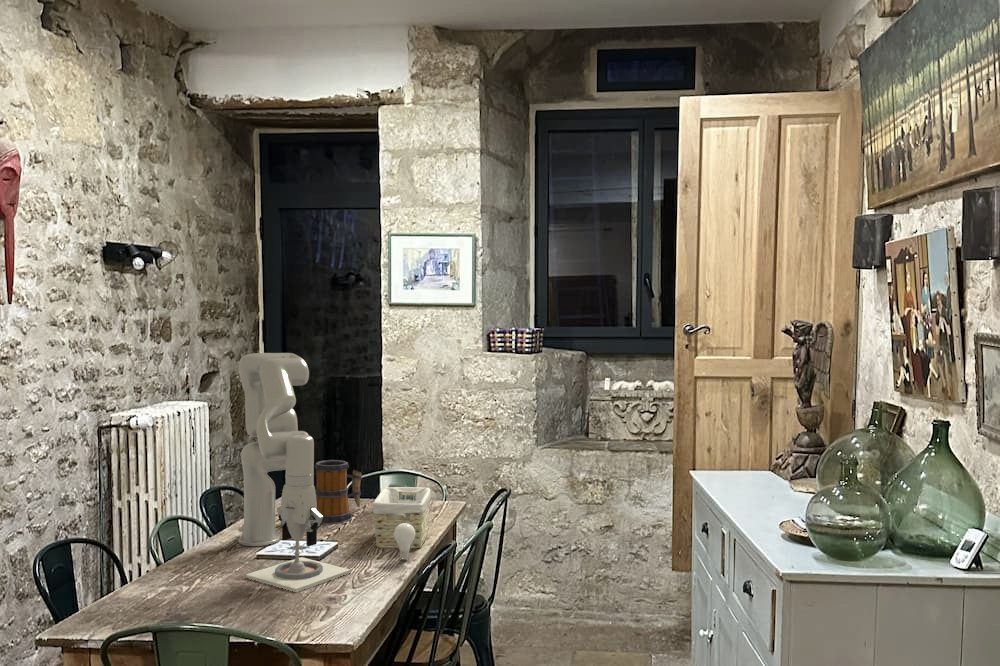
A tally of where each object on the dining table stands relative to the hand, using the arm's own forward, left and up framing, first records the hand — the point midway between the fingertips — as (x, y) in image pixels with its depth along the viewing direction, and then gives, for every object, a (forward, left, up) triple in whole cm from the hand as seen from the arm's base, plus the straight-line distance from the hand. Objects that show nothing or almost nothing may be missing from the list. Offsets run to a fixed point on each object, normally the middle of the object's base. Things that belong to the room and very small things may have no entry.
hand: (299, 542), depth 226 cm
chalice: (-1, 0, -8) cm, 8 cm away
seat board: (0, 0, -9) cm, 9 cm away
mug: (-38, +52, -10) cm, 65 cm away
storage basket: (-1, +45, -10) cm, 46 cm away
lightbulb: (+14, +28, -10) cm, 33 cm away
